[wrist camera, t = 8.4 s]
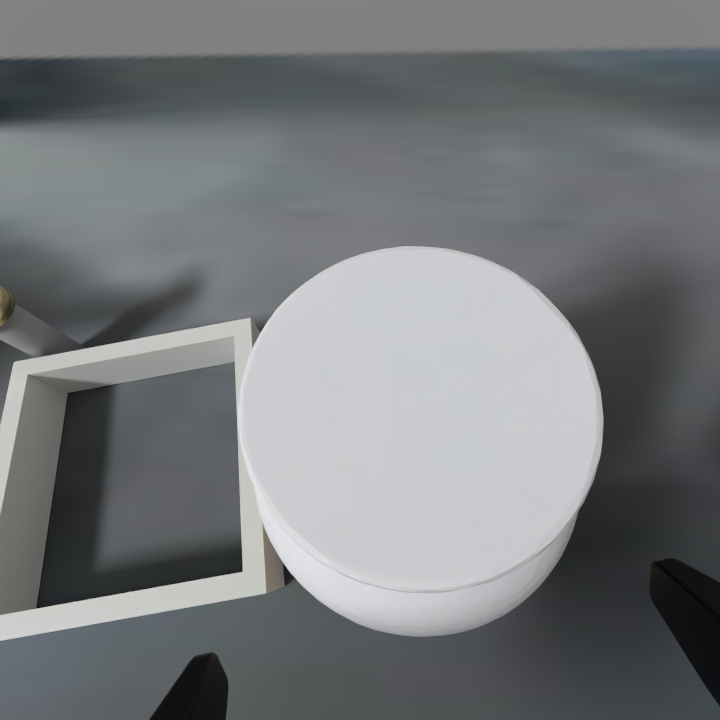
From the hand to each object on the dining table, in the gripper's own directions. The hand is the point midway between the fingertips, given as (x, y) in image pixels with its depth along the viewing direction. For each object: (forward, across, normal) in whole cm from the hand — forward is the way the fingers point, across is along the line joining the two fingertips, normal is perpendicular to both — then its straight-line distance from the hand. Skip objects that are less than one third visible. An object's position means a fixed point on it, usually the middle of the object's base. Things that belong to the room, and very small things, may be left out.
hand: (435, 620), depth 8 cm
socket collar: (+11, +11, +1) cm, 15 cm away
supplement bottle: (+8, 0, +3) cm, 9 cm away
